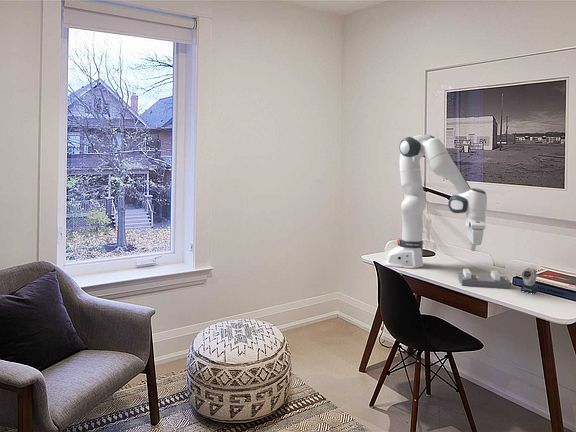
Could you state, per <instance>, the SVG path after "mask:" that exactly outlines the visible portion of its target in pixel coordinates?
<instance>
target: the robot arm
mask: <svg viewBox="0 0 576 432" xmlns="http://www.w3.org/2000/svg"><path fill="white" fill-rule="evenodd" d="M398 146H399V152H400V155H399V162H398V163H399V175H400V176H399V177H400V185H401V188H402V191H403V195H404V199H403V200H402V202H401V206H400V209H401V210H400V211H401V224H402V228H401V230H402V231H401V238H397V240H396V242H397V245H396V246H395V247H393V248H392V249H391V250H389V251H388V252H387V256H386V258H384V259H383V260H382V265H384V266H385V267H386V266H387V267H393V268H394V267H395V268H402V267H403V268H404V269H417V268H422V267H424V261H423V259H424V258H423V247H424V241H423V232H424V230H423V229H424V225H423V212H424V211H425V210H426V207H427V202H426V196H425V191H424V186H423V181H422V173H421V172H422V169H421V165H420V164H421V162H420V161H421V159H422V157H423V158H425V159H426V161H427V164H428V166H429V168H430V169H431V170H432V172H433V173H434V174H435V175H437V176H439V177H442V178H443V179H447V180H448V181H450V182H451V184H452V185H453V186H454V188H455V190H456V192H457V194H454V195H452V196H450V198H449V199H448V203H447V205H448V208H449V210H450V211H451V213H454V214H465V223H464V225H465V226H466V227H467V230H466V238H467V239H468V240H469V243H470V245H469V247H470V248H469V250H470V251H471V252H475V251H476V247H477V246H481V245H482V241H483V236H484V230H485V229H486V210H487V207H488V206H487V205H488V196H487V195H488V194H487V192H486V191H485V190H483V189H480V188H475V187H474V188H471V186H470V185H469V183H468V182H467V179H466V178H465V177H464V175H463V173H462V172H461V171H460V169H459V168H458V166H457V165H456V164H455V162H454V160H453V159H452V157H451V155H450V153H449V151H448V150H447V147H446V146H445V144H444V143H443V142H442V141H441V140H440V139H439V138H438V137H435V136H433V135H431V134H425V135H424V134H420V135H419V134H418V135H414V136H407V137H404V138H403V139H401V141H400V142H399V145H398Z"/></svg>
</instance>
